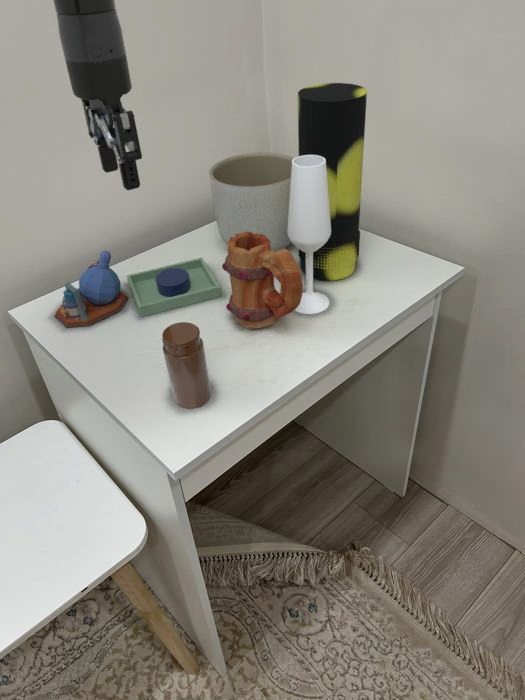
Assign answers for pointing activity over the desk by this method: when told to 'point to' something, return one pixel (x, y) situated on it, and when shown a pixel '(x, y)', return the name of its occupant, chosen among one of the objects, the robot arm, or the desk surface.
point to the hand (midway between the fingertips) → (121, 179)
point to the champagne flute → (309, 220)
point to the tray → (154, 302)
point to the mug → (261, 280)
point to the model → (92, 296)
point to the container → (335, 168)
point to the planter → (253, 196)
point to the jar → (186, 365)
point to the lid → (173, 282)
